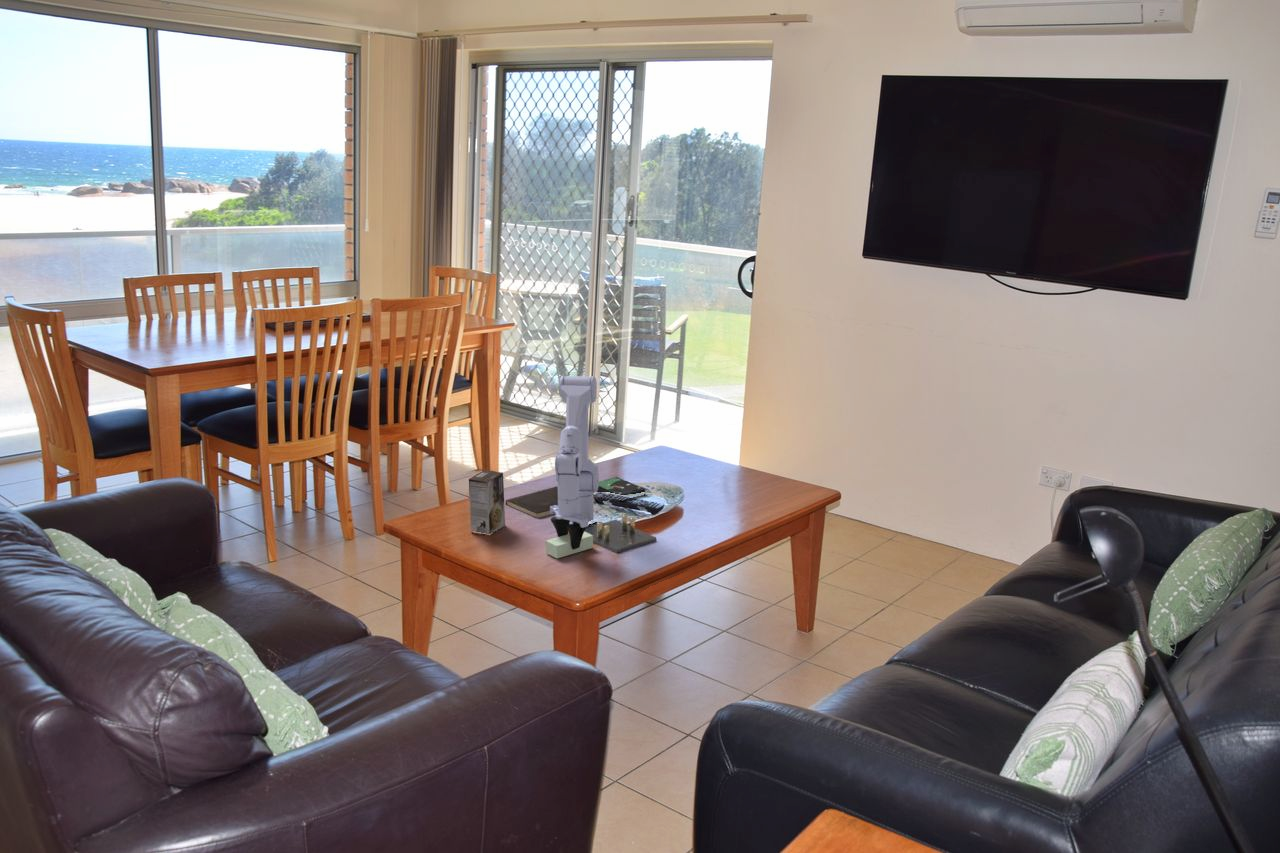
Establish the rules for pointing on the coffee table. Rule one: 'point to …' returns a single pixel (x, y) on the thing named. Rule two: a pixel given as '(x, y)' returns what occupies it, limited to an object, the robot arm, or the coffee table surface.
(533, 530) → the coffee table surface
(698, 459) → the coffee table surface
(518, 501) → the hardcover book
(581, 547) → the pale green block
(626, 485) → the disk drive
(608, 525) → the plate
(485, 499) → the coffee box
